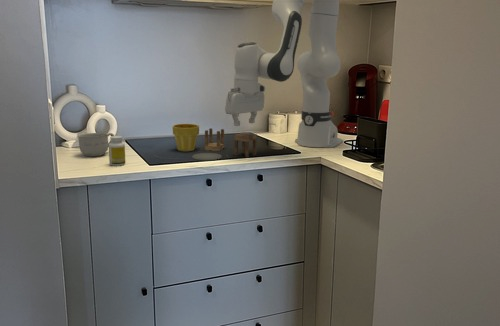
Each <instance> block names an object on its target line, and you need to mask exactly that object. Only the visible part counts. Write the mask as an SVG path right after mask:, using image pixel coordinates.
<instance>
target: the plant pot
mask: <svg viewBox="0 0 500 326" xmlns="http://www.w3.org/2000/svg"><path fill="white" fill-rule="evenodd" d="M172 134H173V135H174V139H175V143H176V148H177V151H180V152H192V151H194V150H195V149H196V145H197V144H196V143H197V139H198V135H199V134H200V125H198V124H195V123H177V124H173V125H172Z"/></svg>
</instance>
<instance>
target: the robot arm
mask: <svg viewBox="0 0 500 326" xmlns="http://www.w3.org/2000/svg"><path fill="white" fill-rule="evenodd" d="M304 3H305V0H272V5H271V13H272V16H273V17H274V19H275V21H277V22H278V23H280V24H281V25H282V26H283V32H282V35H281V40H280V44H279V49H278V50H277V51H276V52H268V51H267V50H265V49H263V48H262V47H260V46H259V45H258V43H257V42H251V41H250V42H243V43H240V44H238V45H237V47H236V49H235V54H234V55H235V56H234V71H235V73H234V79H233V88H230V89H229V91H227V95H226V99H225V106H224V112H225V114H227V115H231V118H232V120H233V126H235V127H240V125H241V120H239V117H240V115H241V114H247V113H250V118H248V123H249V124H255V122H256V120H255V119H256V117H257V115H258V112H261V111H264V110H263V109H264V107H265V93H264V92H265V91H266V87H265V85H263V84H262V83H260V82H259V78H260V79H268V80H272V81H276V82H280V83H282V82H285V81H287V80H289V79H290V78H291V76H292V75H293V73H294V69H295V58H296V53H297V52H296V51H297V47H298V44H299V39H300V35H301V30H302V25H303V24H302V23H303V19H302V15H301V14H302V10H303V6H304ZM339 13H340V0H312V5H311V11H310V18H309V24H308V25H309V26H308V37H309V40H310V45H311V49H310V50H307V51H304V52H303V53H301V54H300V55H299V57H298V58H297V62H296V66H297V67H296V68H297V69H298V71H299V73H300V79H301V86H302V99H303V100H302V111H301V113H300V114H301V115H300V116H301V117H300V119H301V122H299V124H298V129H297V138H296V139H295V140H294V143H297V145H299V146H303V147H308V148H336V147H337V146H338V145H339V144H341V143H343V141H344V139H343V138H339V137H338V134H339V133H338V132H339V131H338V127H337V126H336V125H335V124H334V123H333V121H332V117H333V116H334V114H335V113H334V111H330V108H331V107H330V106H331V105H330V103H331V92H330V90H329V87H328V84H327V80H328V79H330V78H333V77H335V76H337V75H338V74H339V72H340V70H341V66H342V64H341V63H342V62H341V59H340V57H339V55H338V50H337V29H338V19H339Z"/></svg>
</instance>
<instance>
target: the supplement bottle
mask: <svg viewBox="0 0 500 326" xmlns="http://www.w3.org/2000/svg"><path fill="white" fill-rule="evenodd" d="M109 137H110V141H111V143H110V144H109V147H108V159H109V160H108V161H109V165H110V166H111V167H119V166H125V165H126V145H125V143H124V142H123V136H121V135H114V136H112V137H111V136H109Z"/></svg>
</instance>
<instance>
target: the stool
mask: <svg viewBox="0 0 500 326" xmlns="http://www.w3.org/2000/svg"><path fill="white" fill-rule="evenodd" d="M257 138H258V137H257V133H251V132H250V133H249V132H240V133H236V134H234V148H233V149H234V151H233V152H234V154H233V155H234V156H236V157H237V156H239V141H241V143H242V144H241V145H242V146H241V150H242V151H241V154H244V158H249V157H250V155H249V154H250V153H249V152H250V148H249V147H250V142H252V155H253V156H257V140H258V139H257Z"/></svg>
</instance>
